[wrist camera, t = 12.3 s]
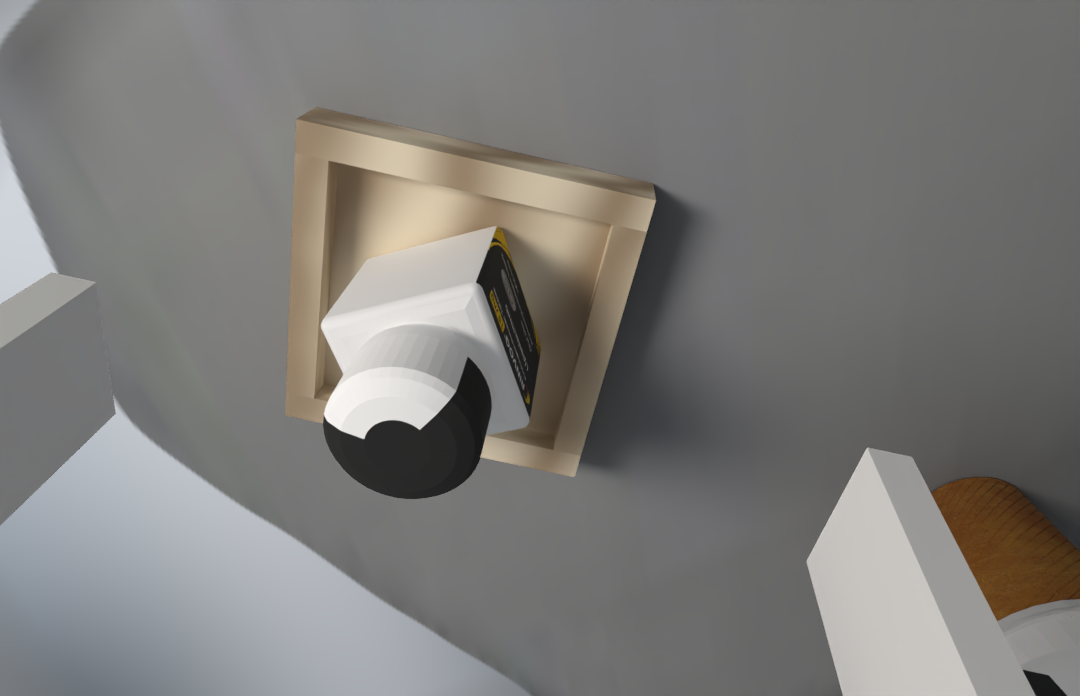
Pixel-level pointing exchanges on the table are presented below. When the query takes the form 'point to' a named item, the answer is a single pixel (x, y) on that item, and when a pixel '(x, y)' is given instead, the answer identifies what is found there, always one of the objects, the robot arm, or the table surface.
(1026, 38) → the table surface
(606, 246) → the tray
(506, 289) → the medicine bottle
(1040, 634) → the disposable coffee cup
